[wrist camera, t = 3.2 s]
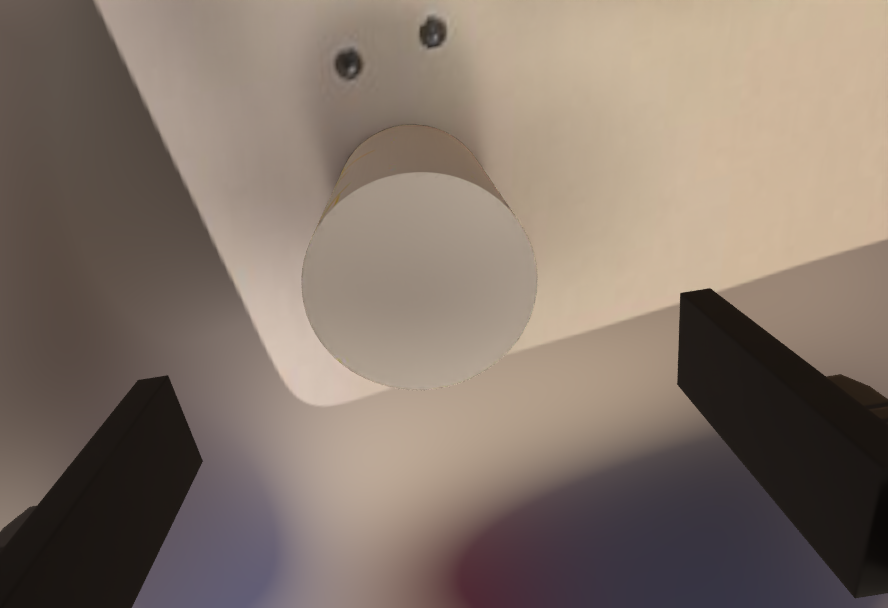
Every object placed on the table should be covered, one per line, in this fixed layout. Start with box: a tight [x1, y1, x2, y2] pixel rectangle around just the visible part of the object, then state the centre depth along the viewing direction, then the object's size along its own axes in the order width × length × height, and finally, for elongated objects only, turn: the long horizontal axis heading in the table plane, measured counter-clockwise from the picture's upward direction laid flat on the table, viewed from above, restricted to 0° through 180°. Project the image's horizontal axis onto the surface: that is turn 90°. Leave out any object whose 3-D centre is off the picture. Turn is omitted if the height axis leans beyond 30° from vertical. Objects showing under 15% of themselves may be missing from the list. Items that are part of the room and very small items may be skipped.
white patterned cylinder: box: [302, 125, 537, 390], centre depth 25 cm, size 8×8×12 cm
